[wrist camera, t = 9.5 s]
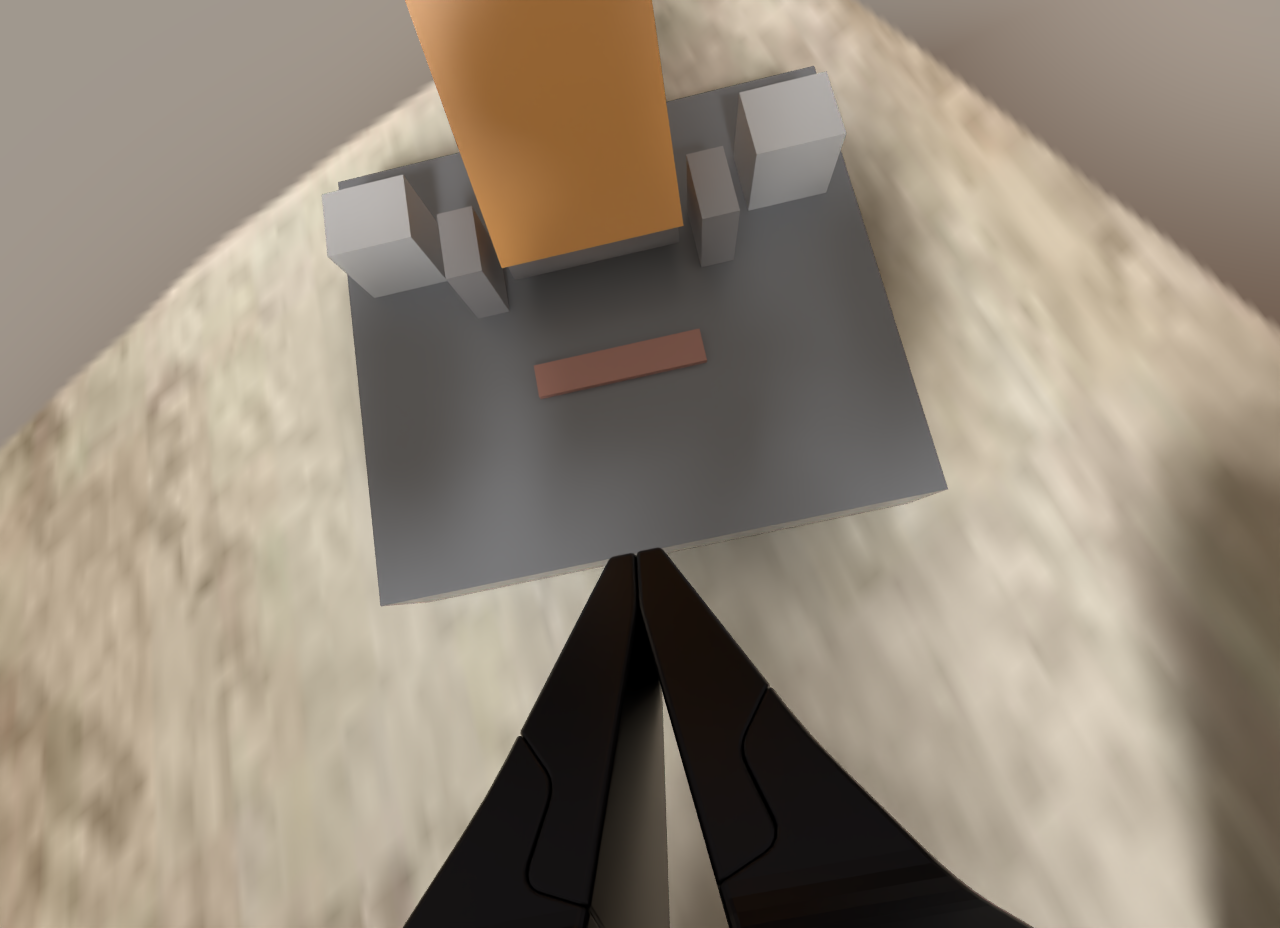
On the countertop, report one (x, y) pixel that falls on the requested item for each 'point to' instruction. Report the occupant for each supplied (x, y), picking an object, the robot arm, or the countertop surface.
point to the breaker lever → (557, 124)
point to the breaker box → (628, 361)
